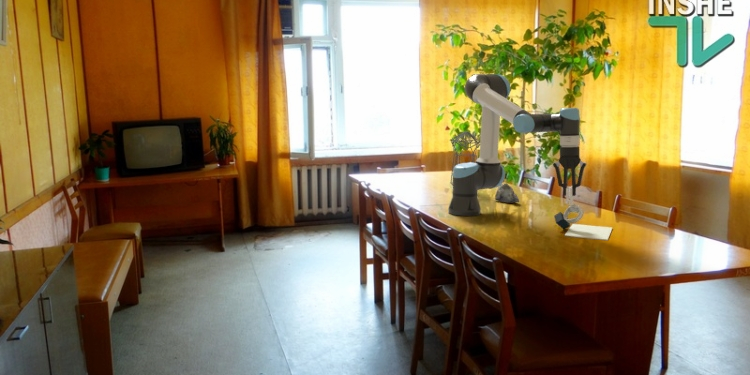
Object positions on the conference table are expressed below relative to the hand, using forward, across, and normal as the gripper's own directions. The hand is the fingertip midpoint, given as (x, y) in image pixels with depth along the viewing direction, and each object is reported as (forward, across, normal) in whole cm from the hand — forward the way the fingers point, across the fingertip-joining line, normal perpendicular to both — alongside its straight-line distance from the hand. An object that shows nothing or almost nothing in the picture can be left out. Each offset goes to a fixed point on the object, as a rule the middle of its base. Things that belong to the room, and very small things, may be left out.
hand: (569, 203), depth 238 cm
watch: (+8, -5, +1) cm, 10 cm away
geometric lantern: (+6, -68, +69) cm, 97 cm away
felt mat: (+12, +8, +1) cm, 14 cm away
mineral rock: (+8, -38, +50) cm, 63 cm away
